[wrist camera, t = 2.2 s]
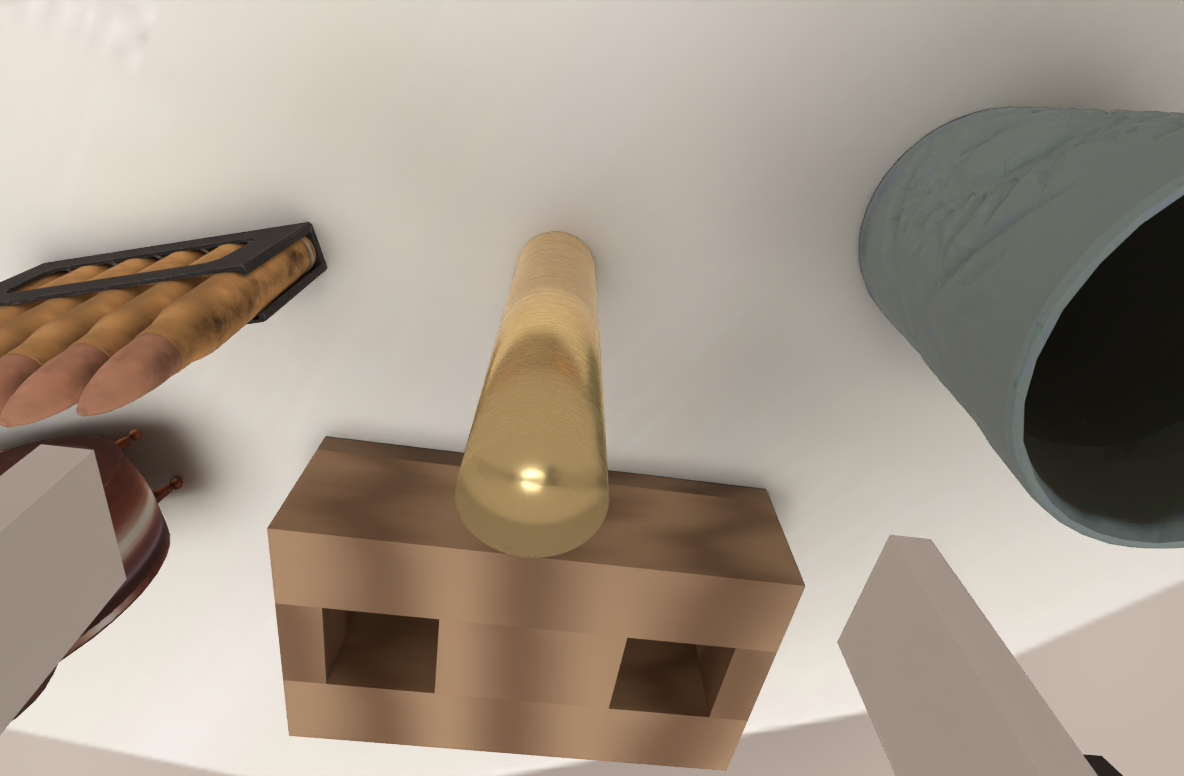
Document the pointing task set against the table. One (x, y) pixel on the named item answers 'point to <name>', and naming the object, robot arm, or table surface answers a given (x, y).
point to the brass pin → (540, 411)
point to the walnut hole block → (525, 615)
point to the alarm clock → (117, 523)
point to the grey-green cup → (1051, 301)
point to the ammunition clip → (138, 316)
